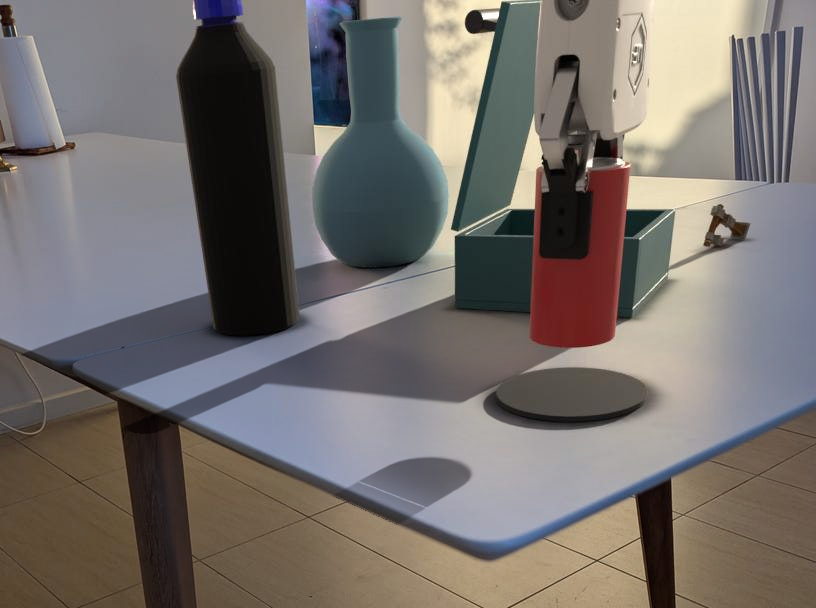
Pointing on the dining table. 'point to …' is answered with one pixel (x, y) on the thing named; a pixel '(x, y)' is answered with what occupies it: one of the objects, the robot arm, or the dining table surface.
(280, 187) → the bottle
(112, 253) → the dining table surface
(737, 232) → the wooden post with brackets
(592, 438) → the dining table surface
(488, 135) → the lid
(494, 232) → the teal rectangular open box
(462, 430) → the dining table surface
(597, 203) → the can
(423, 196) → the vase
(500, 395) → the coaster
